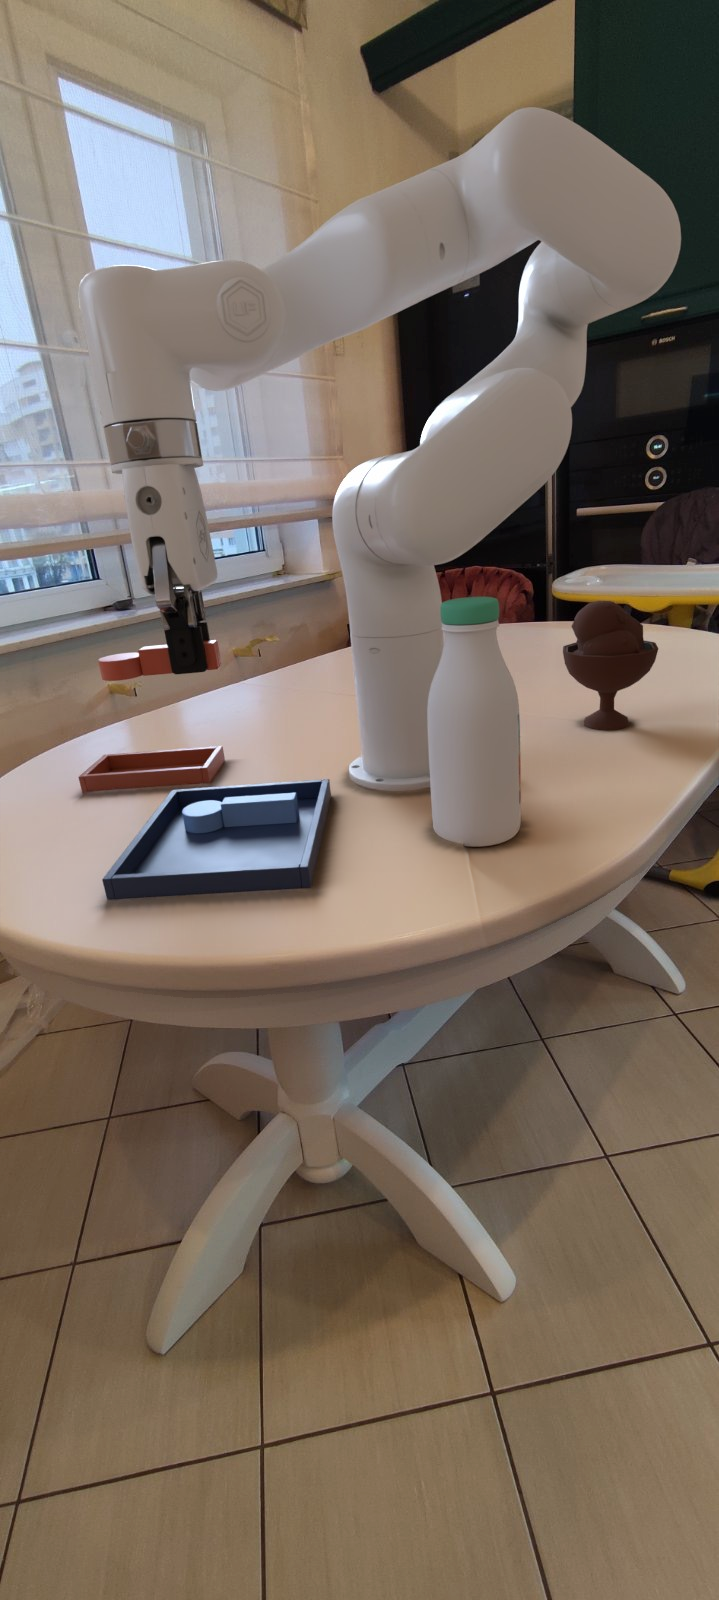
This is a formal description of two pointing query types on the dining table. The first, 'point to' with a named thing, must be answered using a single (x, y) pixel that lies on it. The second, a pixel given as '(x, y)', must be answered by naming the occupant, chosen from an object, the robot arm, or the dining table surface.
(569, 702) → the dining table surface
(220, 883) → the navy tray
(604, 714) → the ice cream bowl
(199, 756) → the terracotta tray
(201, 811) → the blue spoon
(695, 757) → the dining table surface
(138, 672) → the red spoon
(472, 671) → the milk bottle
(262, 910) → the dining table surface
